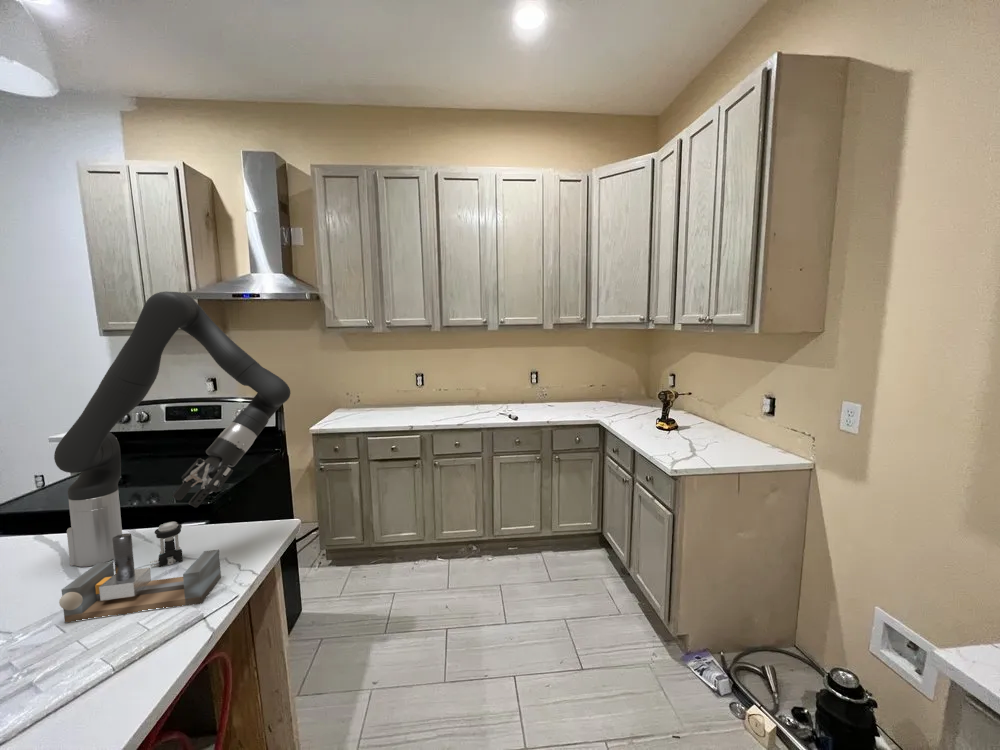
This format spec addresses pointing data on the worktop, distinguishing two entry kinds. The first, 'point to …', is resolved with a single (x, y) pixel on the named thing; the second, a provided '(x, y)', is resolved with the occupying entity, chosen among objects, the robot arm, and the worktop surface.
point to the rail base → (156, 594)
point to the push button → (169, 544)
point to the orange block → (100, 584)
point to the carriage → (124, 572)
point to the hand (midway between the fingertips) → (183, 502)
